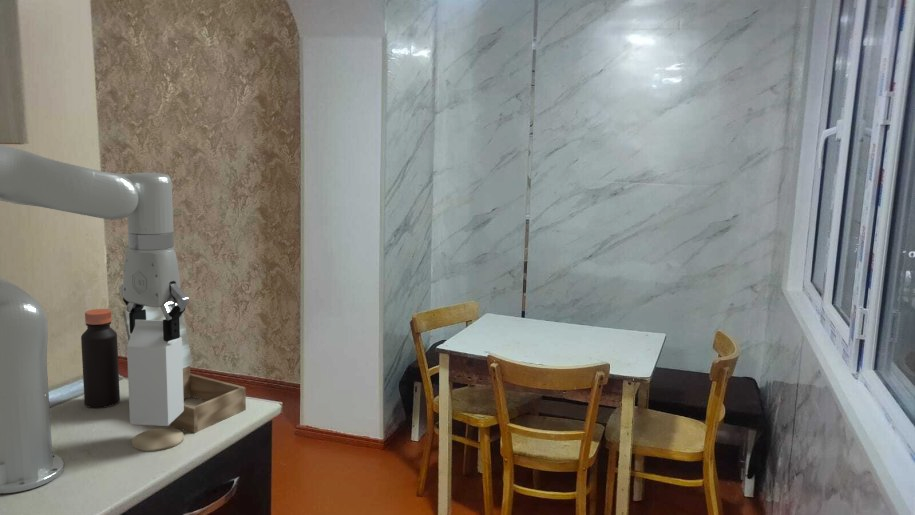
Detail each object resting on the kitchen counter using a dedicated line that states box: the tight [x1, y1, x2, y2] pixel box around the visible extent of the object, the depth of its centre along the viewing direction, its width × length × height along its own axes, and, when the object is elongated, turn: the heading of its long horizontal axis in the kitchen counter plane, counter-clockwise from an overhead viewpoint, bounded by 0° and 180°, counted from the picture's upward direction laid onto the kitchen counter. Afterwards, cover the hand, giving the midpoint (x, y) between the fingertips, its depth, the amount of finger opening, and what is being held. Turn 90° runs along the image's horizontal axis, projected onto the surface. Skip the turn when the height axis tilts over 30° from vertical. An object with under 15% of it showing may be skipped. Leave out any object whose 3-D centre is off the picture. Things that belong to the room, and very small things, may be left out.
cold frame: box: [122, 306, 247, 434], centre depth 145 cm, size 14×19×22 cm
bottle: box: [80, 308, 121, 409], centre depth 148 cm, size 7×7×20 cm
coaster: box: [131, 427, 185, 452], centre depth 132 cm, size 9×9×1 cm
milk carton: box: [126, 320, 185, 427], centre depth 130 cm, size 7×7×19 cm
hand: (154, 335), depth 129 cm, fingers closed on milk carton, 8 cm apart
